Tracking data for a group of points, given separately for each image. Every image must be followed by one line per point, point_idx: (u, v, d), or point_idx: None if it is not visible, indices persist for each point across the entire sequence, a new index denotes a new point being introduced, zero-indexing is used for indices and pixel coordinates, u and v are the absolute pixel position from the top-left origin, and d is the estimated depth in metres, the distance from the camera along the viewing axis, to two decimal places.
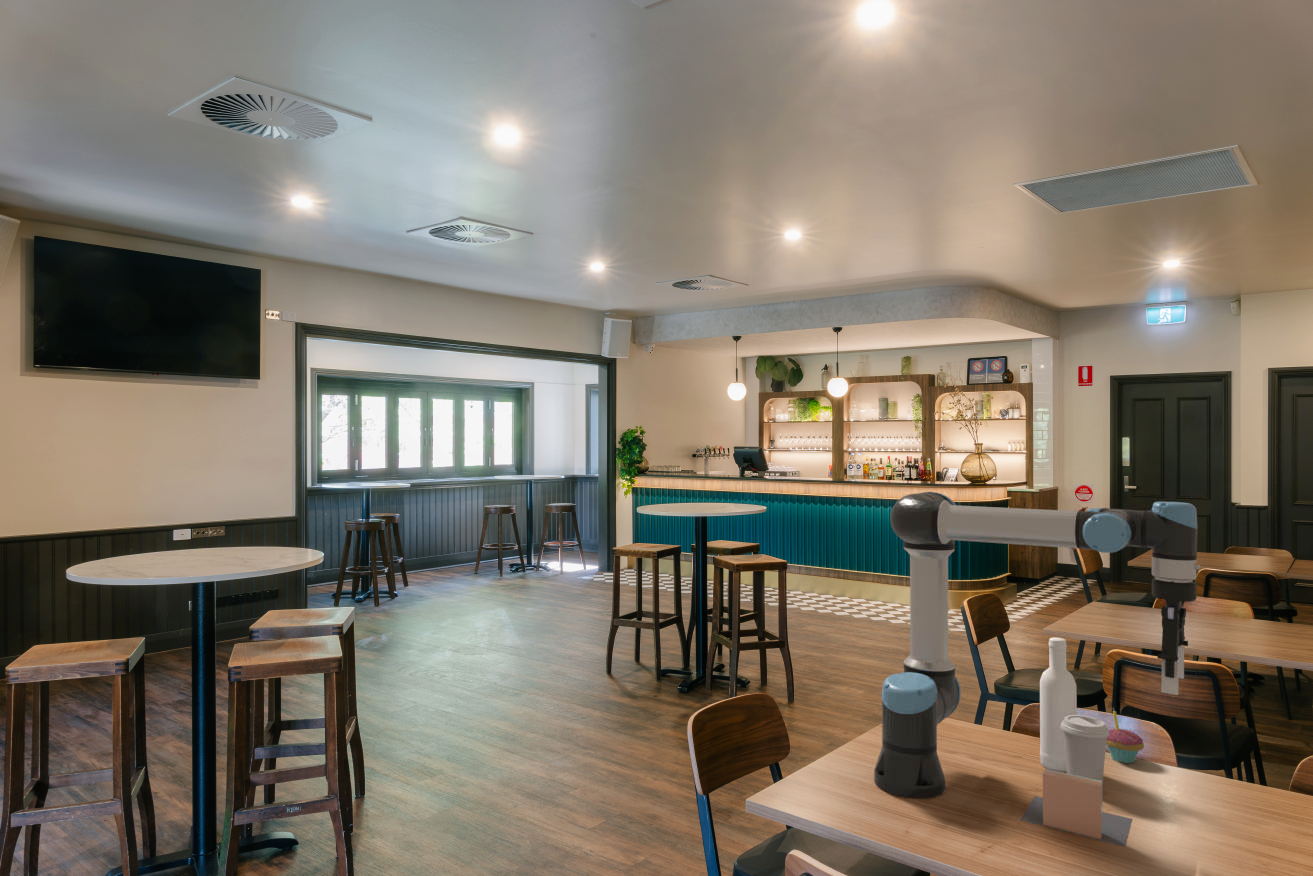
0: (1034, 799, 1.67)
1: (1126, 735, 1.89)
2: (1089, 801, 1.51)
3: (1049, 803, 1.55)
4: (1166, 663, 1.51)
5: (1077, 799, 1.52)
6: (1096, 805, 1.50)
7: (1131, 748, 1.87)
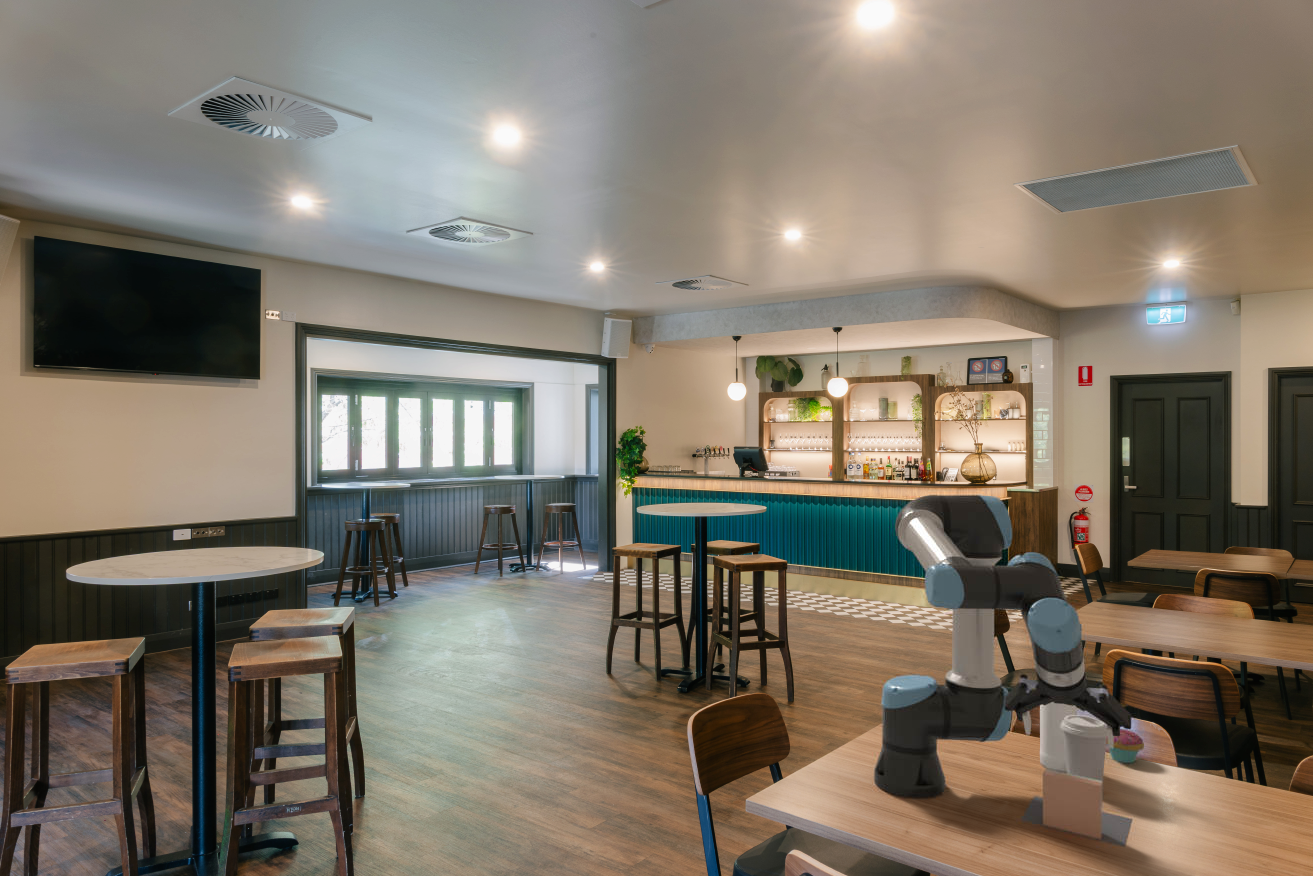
0: (1034, 799, 1.67)
1: (1126, 735, 1.89)
2: (1089, 801, 1.51)
3: (1049, 803, 1.55)
4: None
5: (1077, 799, 1.52)
6: (1096, 805, 1.50)
7: (1131, 748, 1.87)
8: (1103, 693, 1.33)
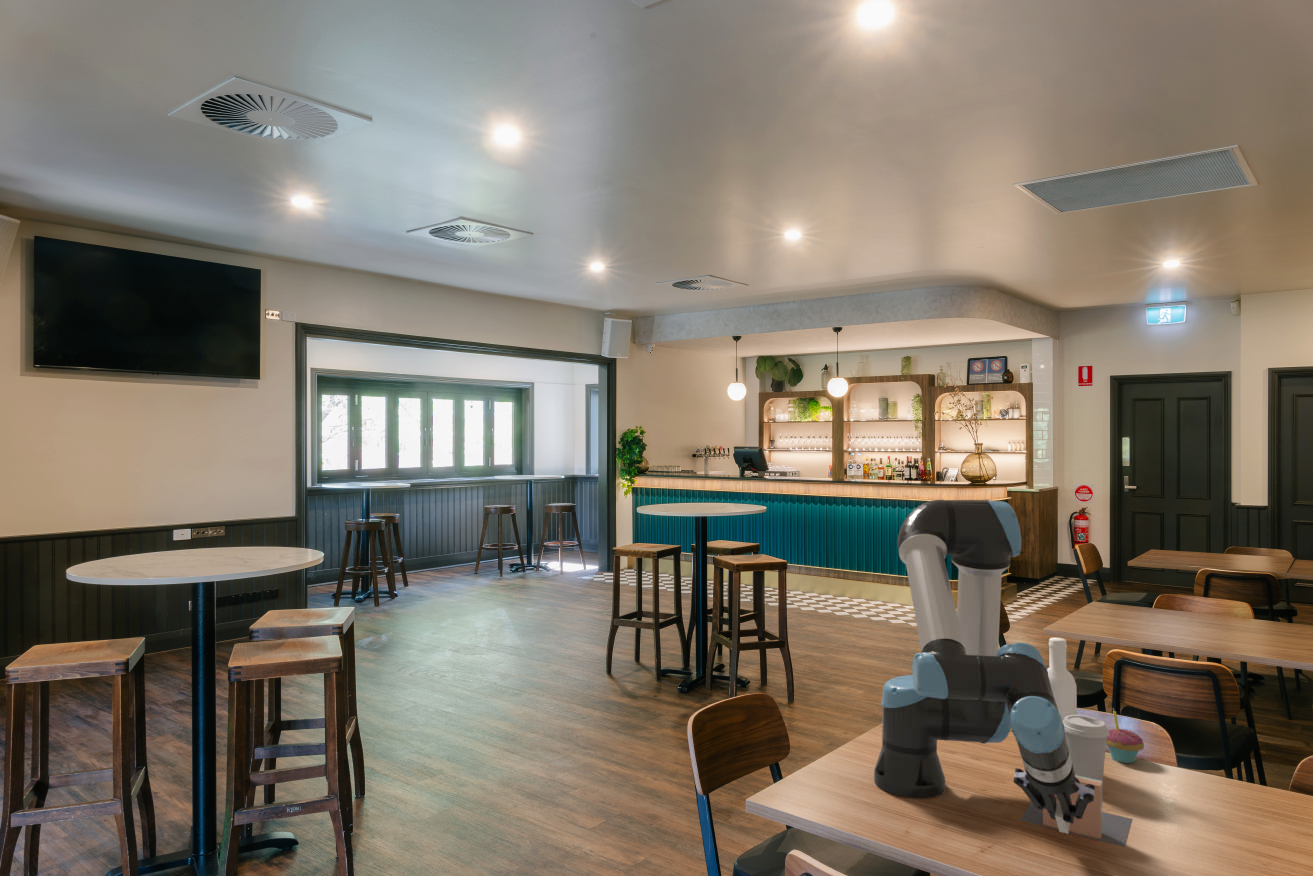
0: None
1: (1126, 735, 1.89)
2: None
3: None
4: None
5: None
6: (1096, 805, 1.50)
7: (1131, 748, 1.87)
8: (1092, 794, 1.33)
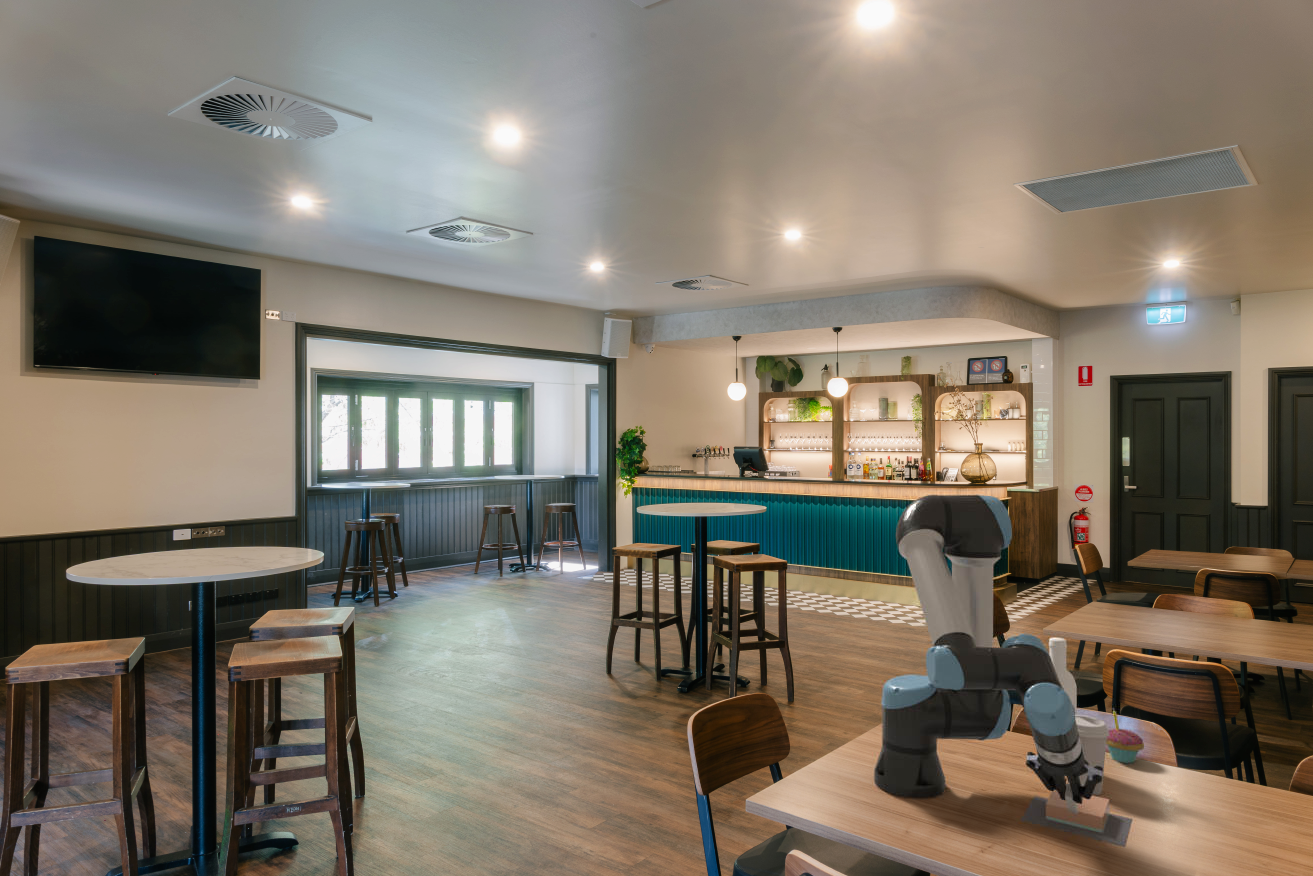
0: (1034, 799, 1.67)
1: (1126, 735, 1.89)
2: (1096, 803, 1.58)
3: (1056, 797, 1.61)
4: None
5: (1084, 800, 1.59)
6: (1102, 805, 1.57)
7: (1131, 748, 1.87)
8: (1100, 776, 1.42)
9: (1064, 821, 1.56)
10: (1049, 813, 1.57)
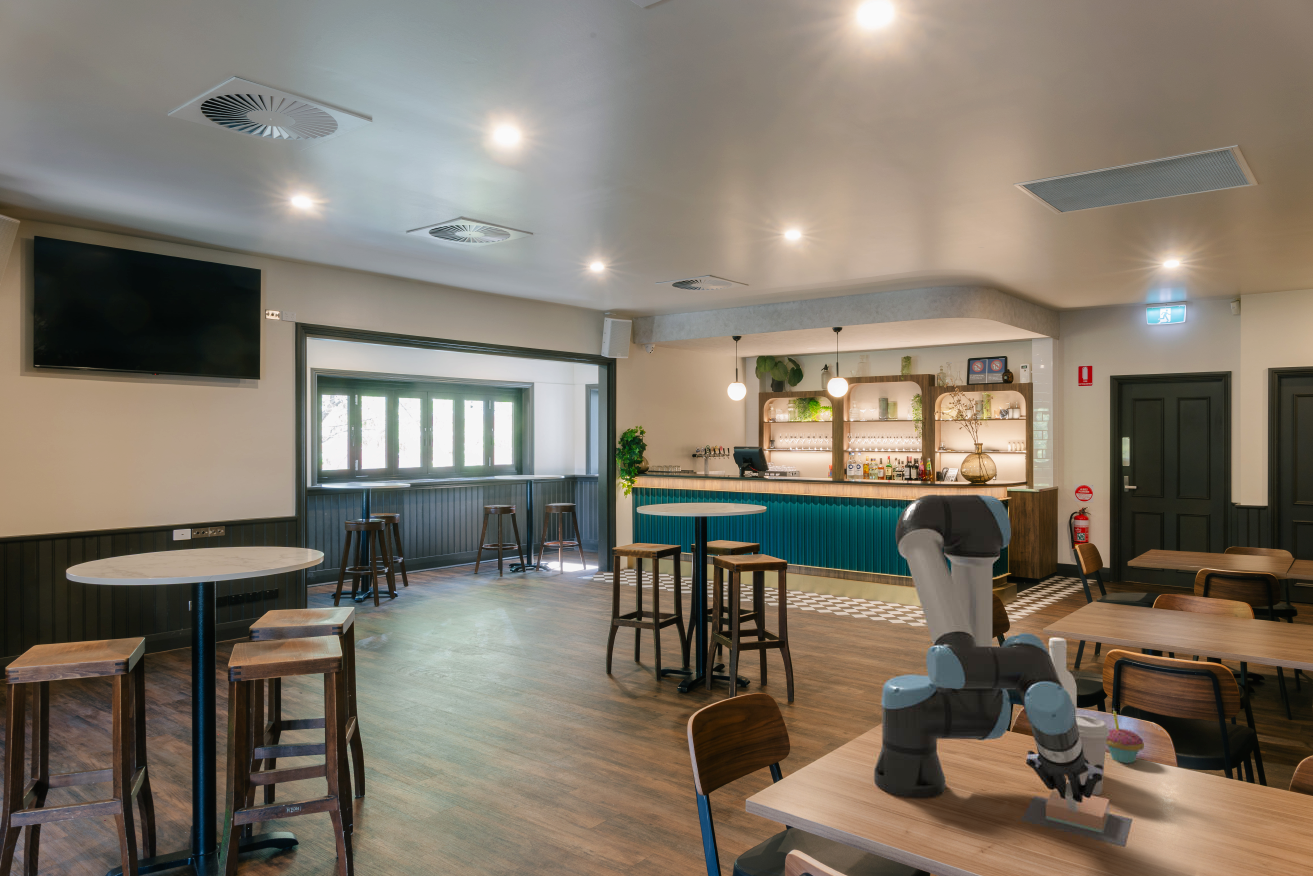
0: (1034, 799, 1.67)
1: (1126, 735, 1.89)
2: (1096, 803, 1.58)
3: (1056, 797, 1.61)
4: None
5: (1084, 800, 1.59)
6: (1102, 805, 1.57)
7: (1131, 748, 1.87)
8: (1100, 774, 1.42)
9: (1064, 821, 1.56)
10: (1049, 813, 1.57)
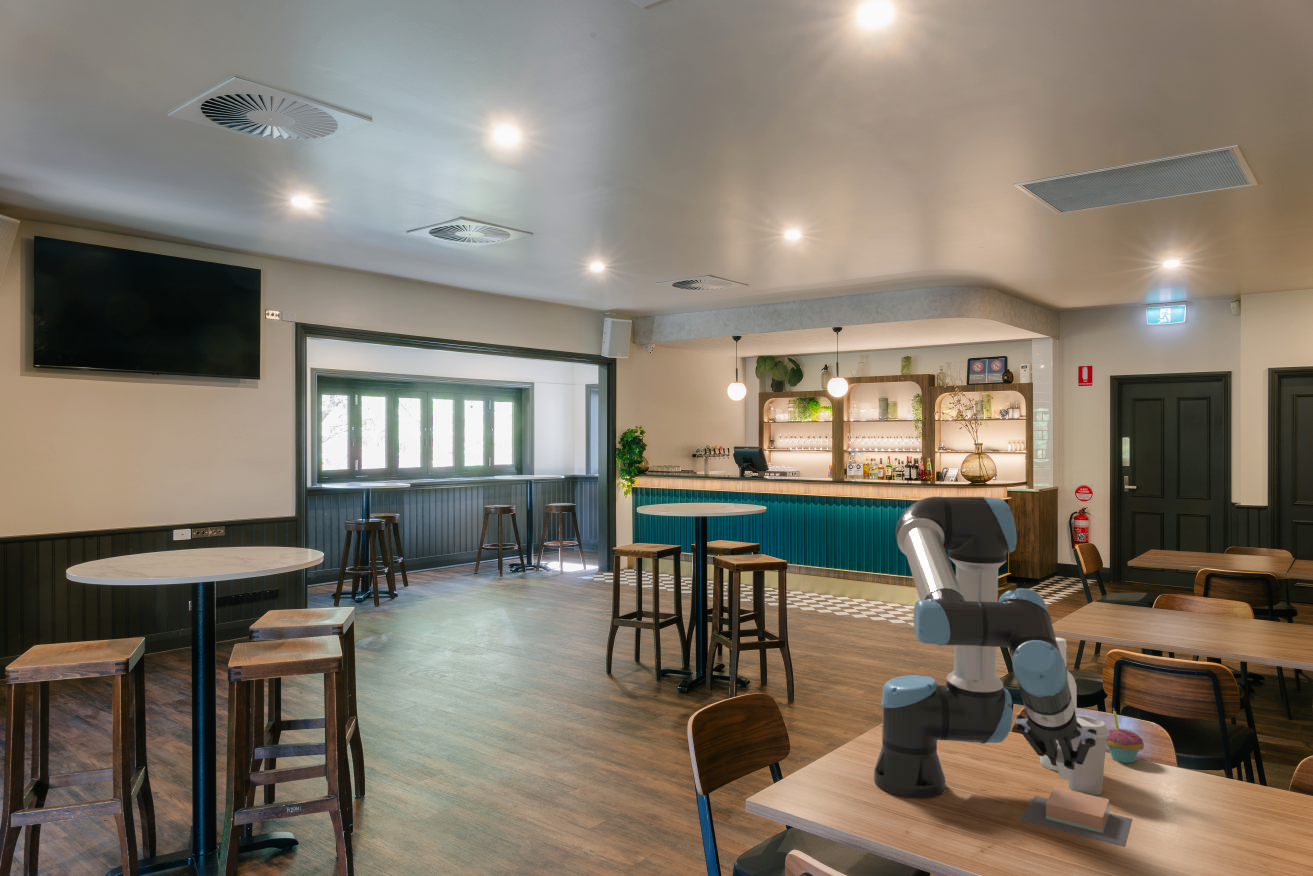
0: (1034, 799, 1.67)
1: (1126, 735, 1.89)
2: (1096, 803, 1.58)
3: (1056, 797, 1.61)
4: None
5: (1084, 800, 1.59)
6: (1102, 805, 1.57)
7: (1131, 748, 1.87)
8: (1094, 739, 1.33)
9: (1064, 821, 1.56)
10: (1049, 813, 1.57)
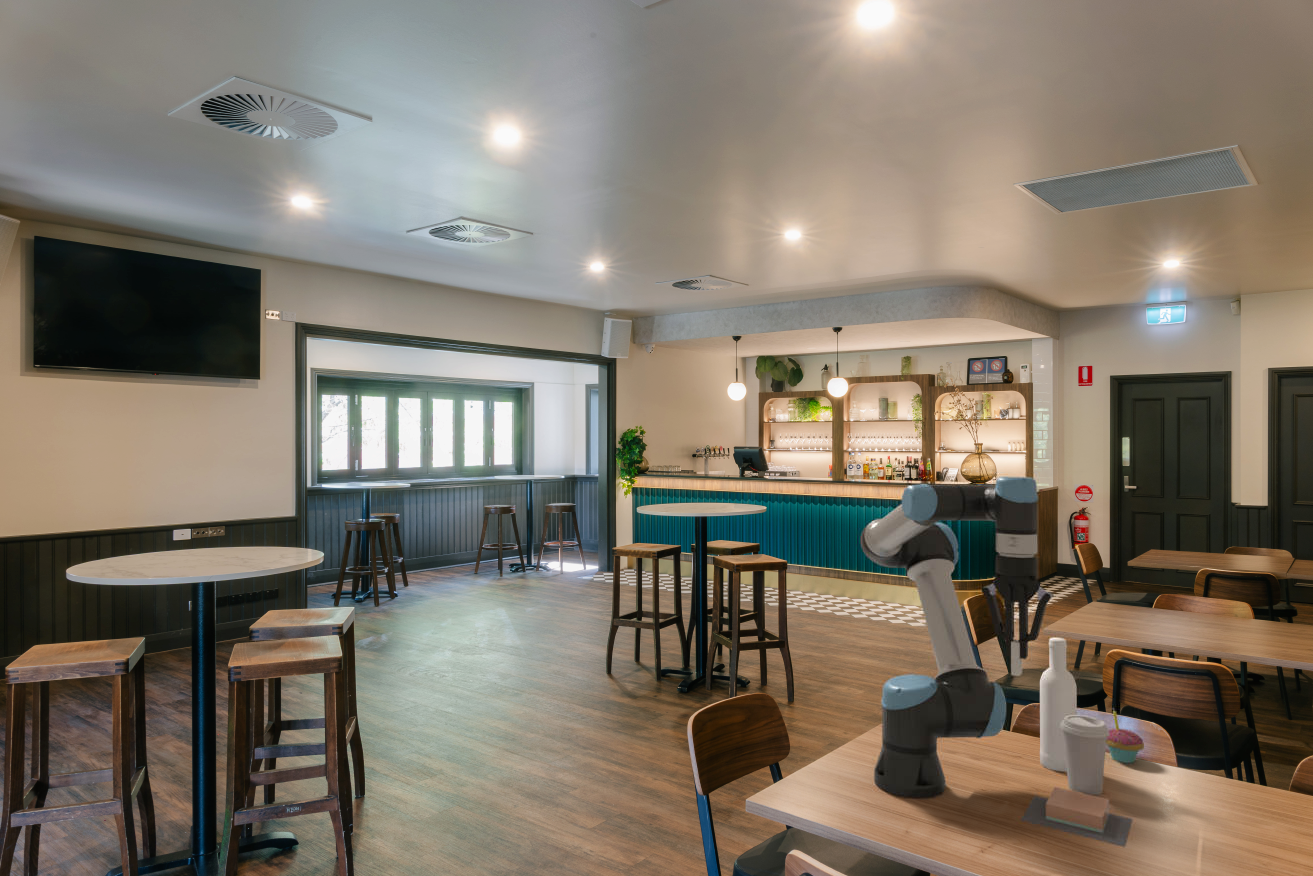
0: (1034, 799, 1.67)
1: (1126, 735, 1.89)
2: (1096, 803, 1.58)
3: (1056, 797, 1.61)
4: None
5: (1084, 800, 1.59)
6: (1102, 805, 1.57)
7: (1131, 748, 1.87)
8: (1049, 594, 1.52)
9: (1064, 821, 1.56)
10: (1049, 813, 1.57)
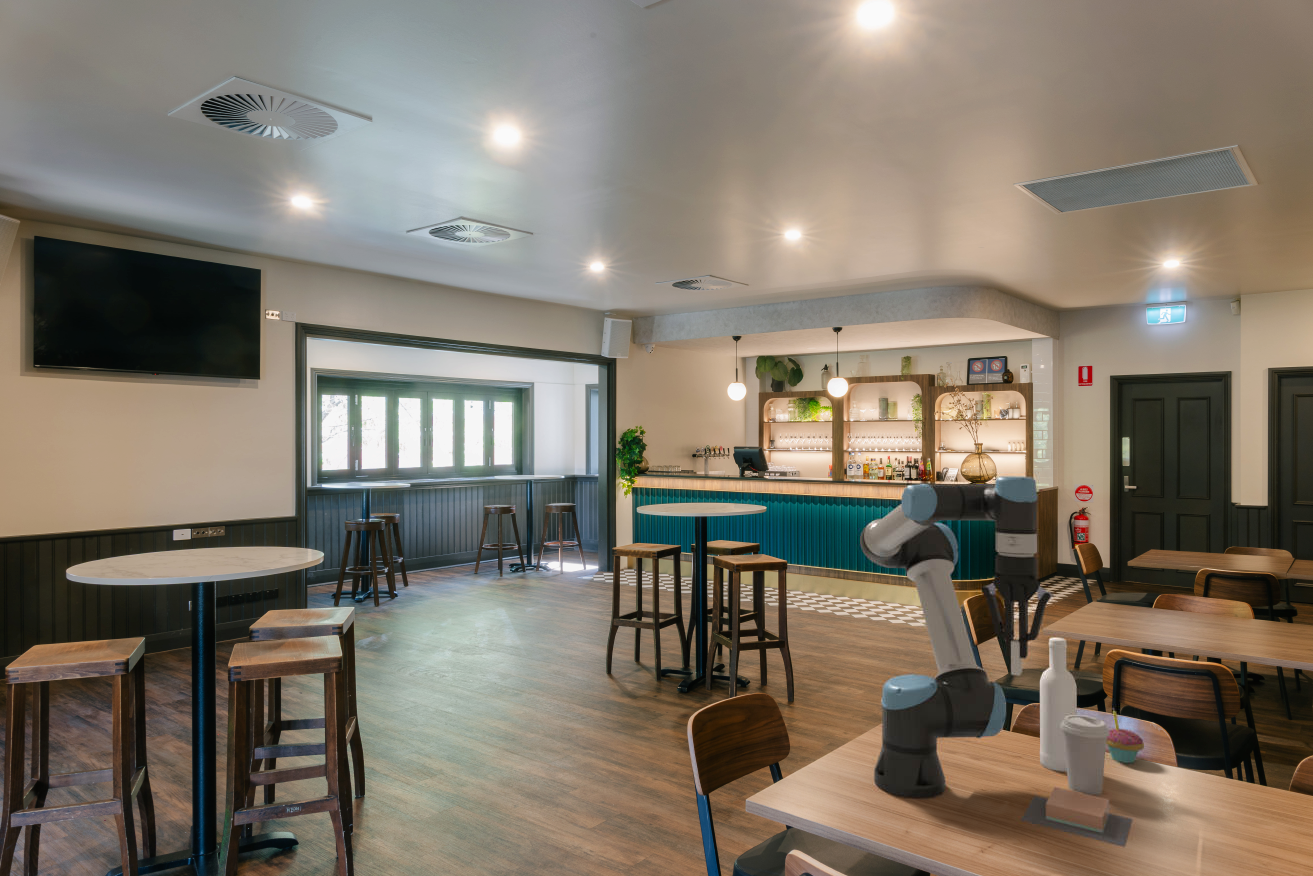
0: (1034, 799, 1.67)
1: (1126, 735, 1.89)
2: (1096, 803, 1.58)
3: (1056, 797, 1.61)
4: None
5: (1084, 800, 1.59)
6: (1102, 805, 1.57)
7: (1131, 748, 1.87)
8: (1049, 593, 1.52)
9: (1064, 821, 1.56)
10: (1049, 813, 1.57)
